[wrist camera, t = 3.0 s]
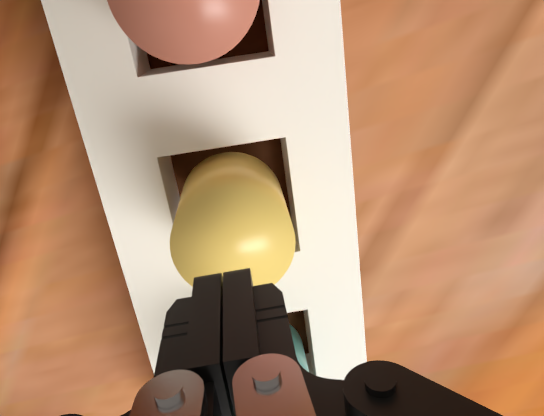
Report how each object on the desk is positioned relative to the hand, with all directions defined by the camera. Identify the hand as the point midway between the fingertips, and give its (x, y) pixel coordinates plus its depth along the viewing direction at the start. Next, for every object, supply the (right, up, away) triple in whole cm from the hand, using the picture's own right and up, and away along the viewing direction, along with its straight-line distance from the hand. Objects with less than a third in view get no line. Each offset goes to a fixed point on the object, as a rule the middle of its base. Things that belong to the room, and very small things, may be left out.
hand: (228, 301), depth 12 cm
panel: (-1, +4, +9) cm, 10 cm away
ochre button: (-1, +3, +7) cm, 8 cm away
